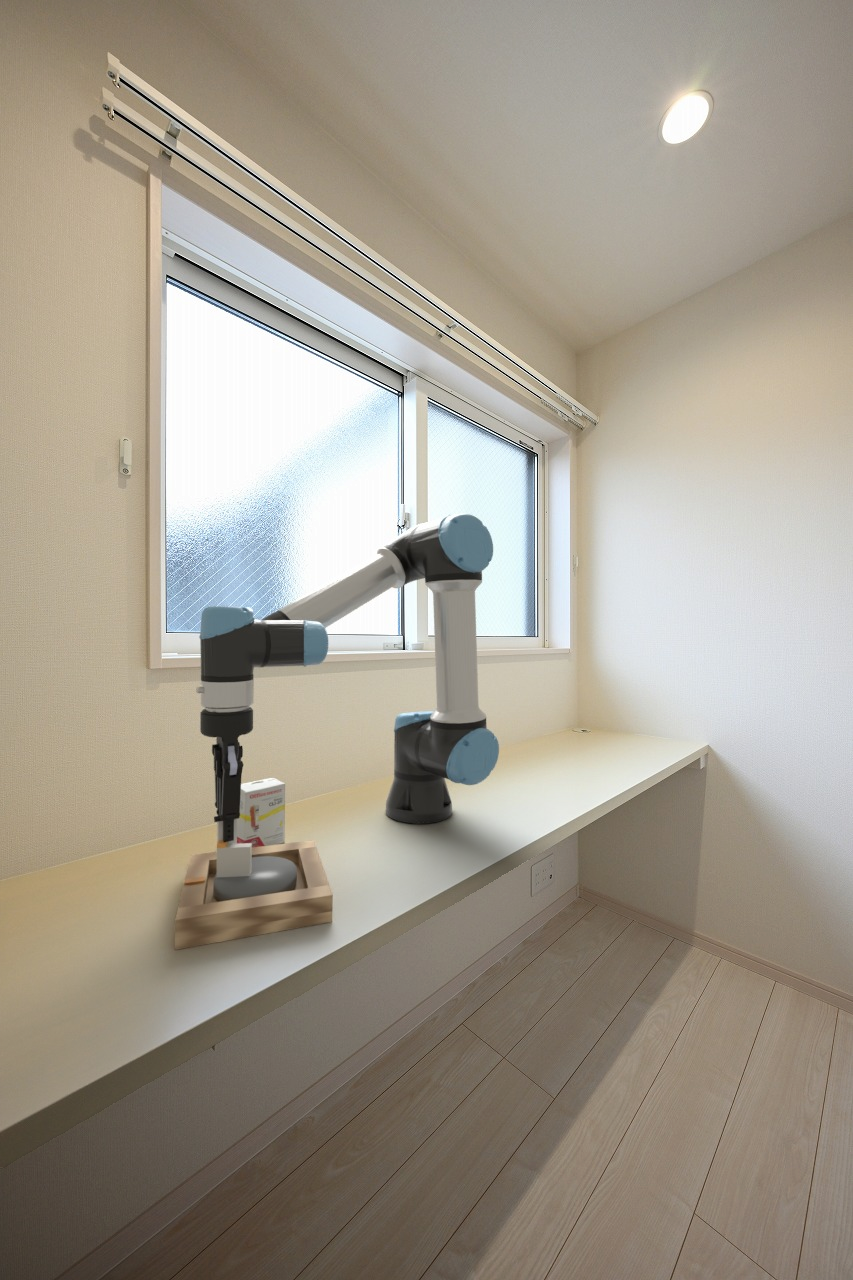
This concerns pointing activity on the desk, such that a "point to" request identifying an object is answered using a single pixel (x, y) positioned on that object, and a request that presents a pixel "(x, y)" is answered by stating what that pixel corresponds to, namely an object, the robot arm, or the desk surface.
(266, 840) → the ink box
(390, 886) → the desk surface
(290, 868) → the dial
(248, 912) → the wooden tray
